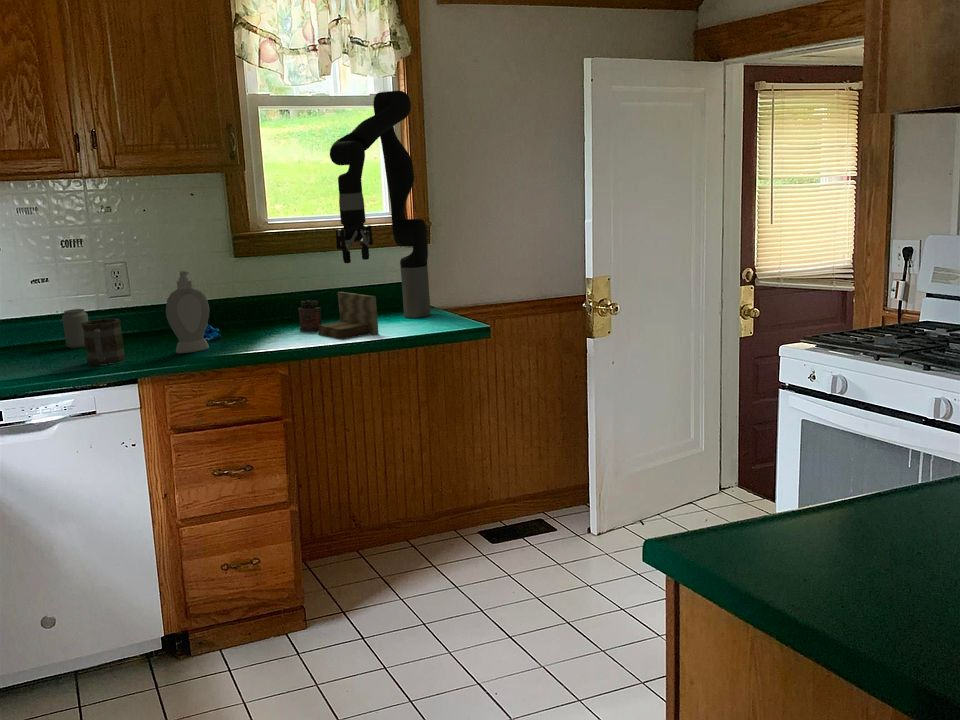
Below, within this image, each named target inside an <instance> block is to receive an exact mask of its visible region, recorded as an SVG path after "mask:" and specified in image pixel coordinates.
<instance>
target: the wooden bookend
mask: <svg viewBox="0 0 960 720" xmlns="http://www.w3.org/2000/svg"><path fill="white" fill-rule="evenodd" d="M337 301H338V311H339V321H334V322H328V323H322V325H318V331H317V332H318V335H320V336H325V337H330V338H334V339H339V340H344V339H350V338H356V337H357V338H358V337H360V336H366V335H367V336H368V335H373V336H377V335H379V333H380V332H379V321H378V310H377V309H378V308H377V296H375V295H369V294H368V295H367V294H361V293H354V292H348V291H347V292H346V291H338V292H337Z"/></svg>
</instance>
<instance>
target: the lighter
mask: <svg viewBox="0 0 960 720" xmlns="http://www.w3.org/2000/svg"><path fill="white" fill-rule="evenodd" d="M300 304H301V307H298V308H297V311H298V315H299V325H300V329H299V331H300V332H317V333H318V332H319V331H318V325H322V324H323V323H322V314H321V313H322V312H321V311H322V308H321V307H316V306H317V305H319V301H318V300H310V299H307V300H305V301H304V300H302V301H300Z"/></svg>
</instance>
